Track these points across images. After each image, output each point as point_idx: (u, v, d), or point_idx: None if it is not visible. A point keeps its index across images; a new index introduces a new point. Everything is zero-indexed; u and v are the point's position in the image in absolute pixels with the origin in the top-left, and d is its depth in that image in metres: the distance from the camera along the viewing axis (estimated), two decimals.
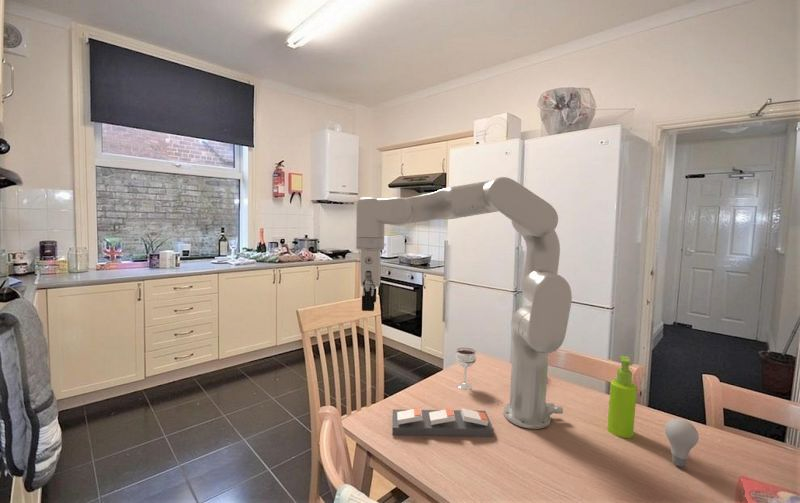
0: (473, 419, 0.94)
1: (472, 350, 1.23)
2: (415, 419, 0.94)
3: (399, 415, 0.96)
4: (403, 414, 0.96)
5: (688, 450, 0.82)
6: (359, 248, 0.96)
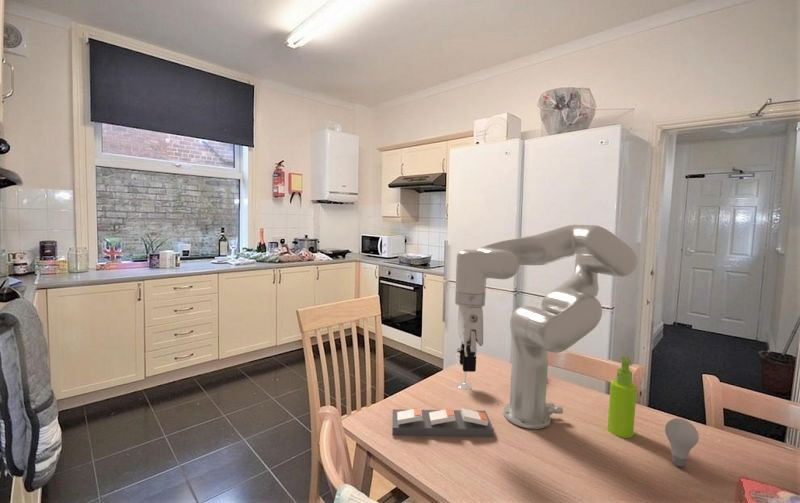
0: (473, 419, 0.94)
1: None
2: (415, 419, 0.94)
3: (399, 415, 0.96)
4: (403, 414, 0.96)
5: (688, 450, 0.82)
6: (461, 304, 0.91)
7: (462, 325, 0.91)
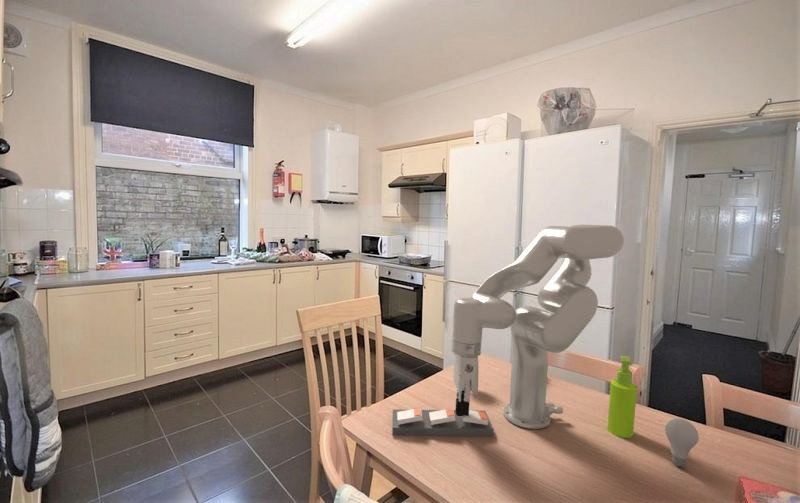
0: (473, 419, 0.94)
1: None
2: (415, 419, 0.94)
3: (399, 415, 0.96)
4: (403, 414, 0.96)
5: (688, 450, 0.82)
6: (457, 353, 0.92)
7: (457, 374, 0.92)
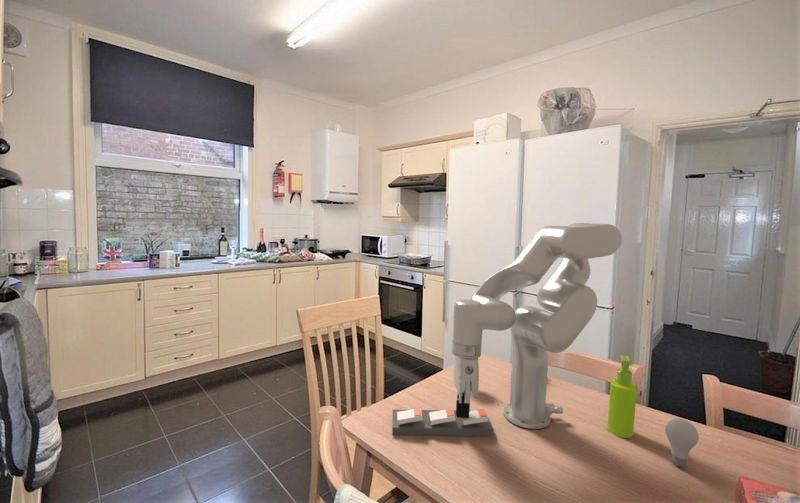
0: (473, 420, 0.95)
1: None
2: (415, 419, 0.94)
3: (399, 415, 0.96)
4: (403, 414, 0.96)
5: (688, 450, 0.82)
6: (457, 355, 0.92)
7: (458, 376, 0.92)
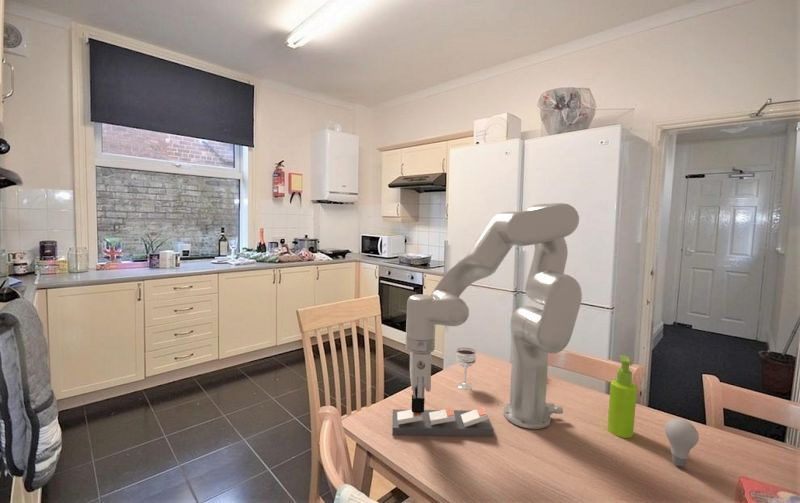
0: (472, 421, 0.95)
1: (472, 350, 1.23)
2: (415, 419, 0.94)
3: (399, 415, 0.96)
4: (403, 414, 0.96)
5: (688, 450, 0.82)
6: (410, 350, 0.92)
7: (411, 371, 0.92)
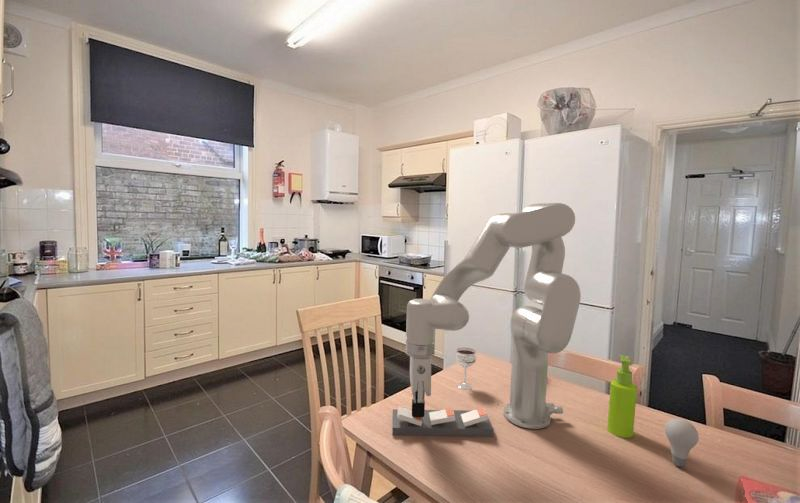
0: (472, 420, 0.95)
1: (472, 350, 1.23)
2: (415, 422, 0.94)
3: (401, 410, 0.96)
4: (404, 411, 0.96)
5: (688, 450, 0.82)
6: (410, 355, 0.92)
7: (411, 375, 0.92)
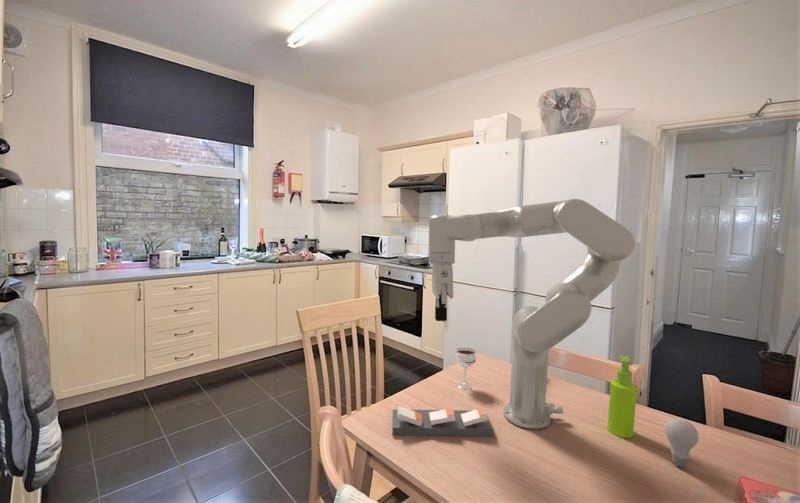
0: (472, 420, 0.95)
1: (472, 350, 1.23)
2: (414, 422, 0.94)
3: (401, 409, 0.96)
4: (405, 411, 0.96)
5: (688, 450, 0.82)
6: (433, 262, 1.03)
7: (435, 281, 1.03)
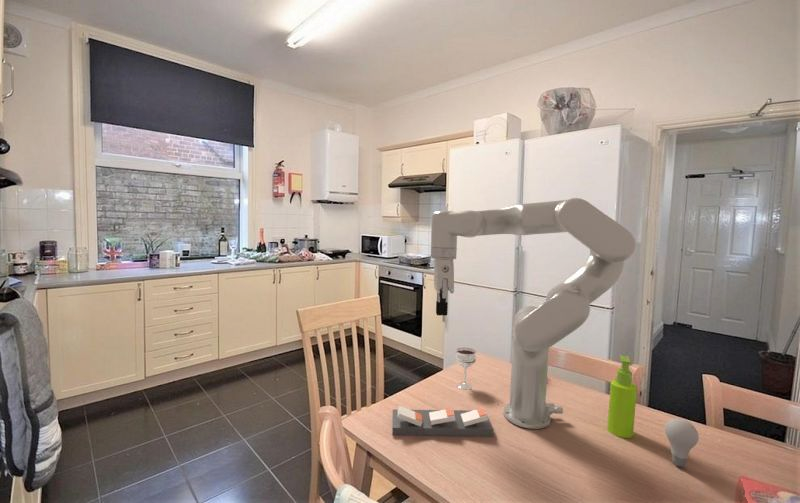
0: (472, 420, 0.95)
1: (472, 350, 1.23)
2: (414, 422, 0.94)
3: (401, 409, 0.96)
4: (405, 411, 0.96)
5: (688, 450, 0.82)
6: (435, 257, 1.05)
7: (436, 275, 1.05)
